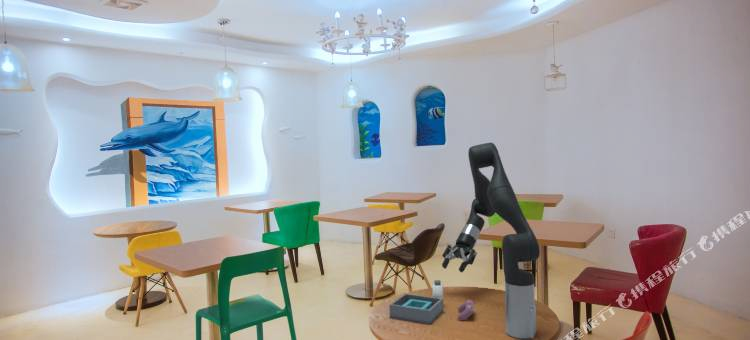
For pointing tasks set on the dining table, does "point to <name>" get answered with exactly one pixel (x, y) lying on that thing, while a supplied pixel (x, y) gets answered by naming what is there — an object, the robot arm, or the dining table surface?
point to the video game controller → (466, 310)
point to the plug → (437, 289)
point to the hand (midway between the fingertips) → (451, 269)
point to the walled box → (416, 308)
